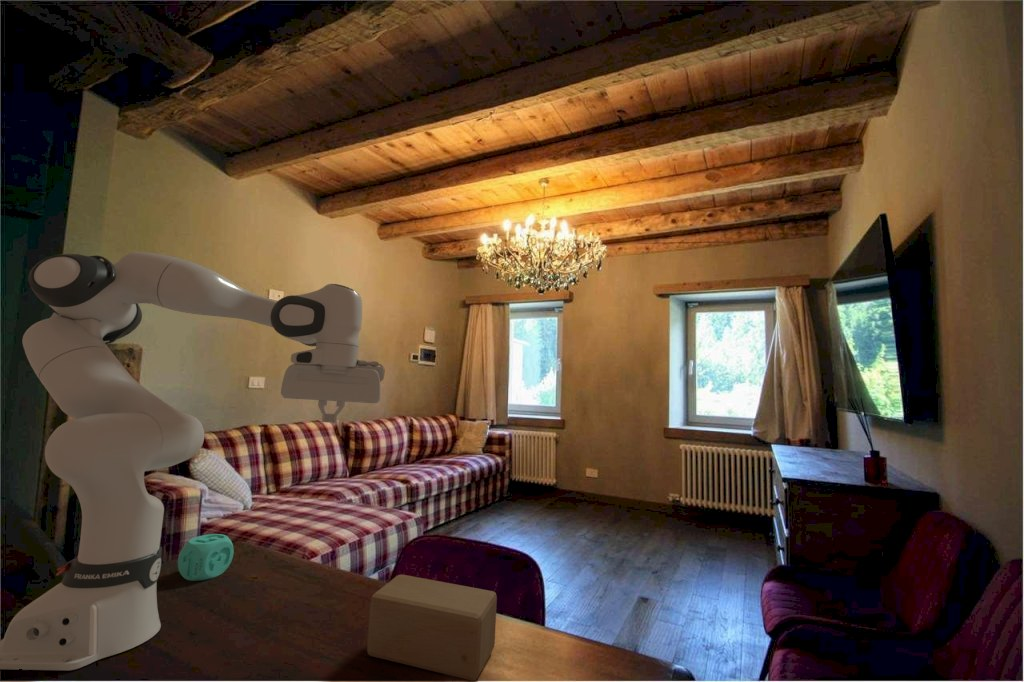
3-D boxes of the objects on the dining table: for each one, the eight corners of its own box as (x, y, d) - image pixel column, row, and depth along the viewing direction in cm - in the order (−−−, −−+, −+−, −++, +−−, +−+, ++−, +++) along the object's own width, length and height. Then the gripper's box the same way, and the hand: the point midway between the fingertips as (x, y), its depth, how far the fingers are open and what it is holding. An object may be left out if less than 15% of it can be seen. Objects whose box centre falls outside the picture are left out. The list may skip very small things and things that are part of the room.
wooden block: (364, 657, 75) (476, 685, 70) (368, 595, 76) (479, 617, 71) (395, 626, 85) (495, 648, 79) (398, 571, 86) (498, 589, 80)
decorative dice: (174, 578, 104) (179, 541, 104) (206, 565, 111) (210, 532, 112) (201, 583, 101) (205, 546, 102) (232, 570, 109) (236, 536, 110)
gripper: (386, 362, 104) (380, 423, 102) (291, 355, 100) (283, 418, 98) (384, 361, 98) (378, 425, 96) (283, 353, 93) (274, 421, 92)
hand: (329, 422), depth 97 cm, fingers closed
